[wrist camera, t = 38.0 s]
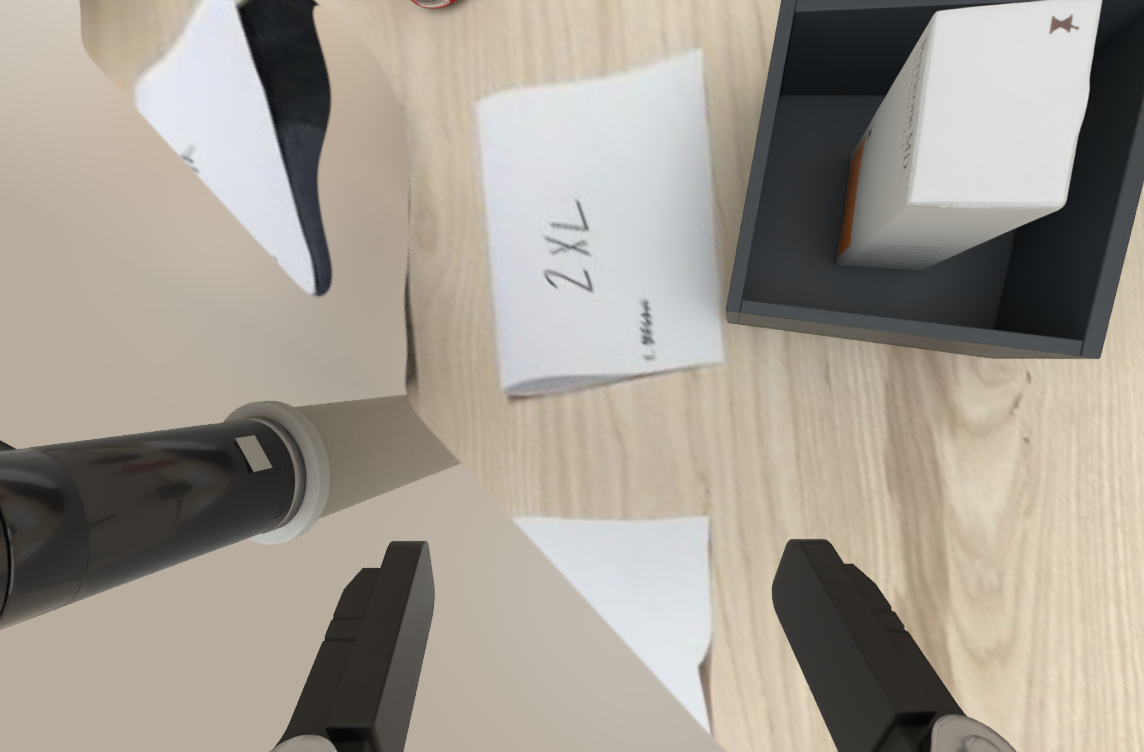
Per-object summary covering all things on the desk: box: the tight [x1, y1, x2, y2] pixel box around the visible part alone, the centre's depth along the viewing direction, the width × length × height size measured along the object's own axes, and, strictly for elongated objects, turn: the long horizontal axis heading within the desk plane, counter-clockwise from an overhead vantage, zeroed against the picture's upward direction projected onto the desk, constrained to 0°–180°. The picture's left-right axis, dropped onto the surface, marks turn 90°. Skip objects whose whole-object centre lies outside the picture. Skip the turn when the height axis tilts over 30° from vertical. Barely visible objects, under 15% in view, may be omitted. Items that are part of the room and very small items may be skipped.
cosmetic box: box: [836, 0, 1102, 270], centre depth 20 cm, size 6×4×12 cm
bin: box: [726, 0, 1144, 359], centre depth 23 cm, size 13×13×8 cm
